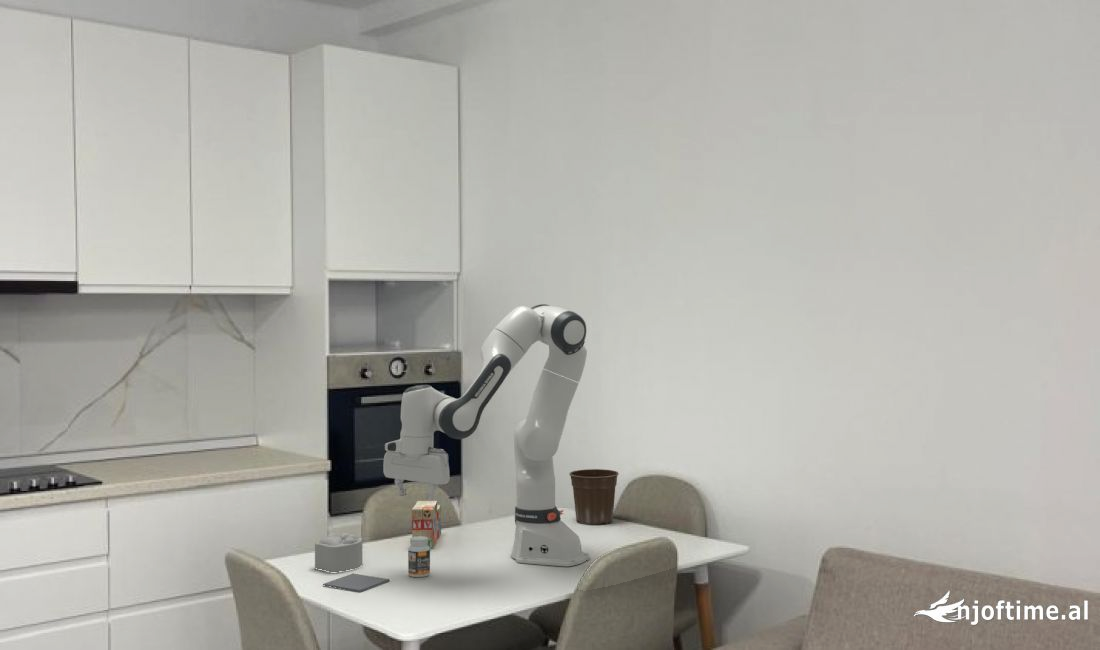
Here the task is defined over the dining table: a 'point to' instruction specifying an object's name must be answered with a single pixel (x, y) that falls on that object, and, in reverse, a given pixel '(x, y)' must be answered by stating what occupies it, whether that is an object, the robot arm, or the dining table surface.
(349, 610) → the dining table surface
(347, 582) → the coaster
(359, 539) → the lumpy-topped squat cylinder
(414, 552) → the pill bottle
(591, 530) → the dining table surface
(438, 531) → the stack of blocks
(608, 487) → the plant pot
